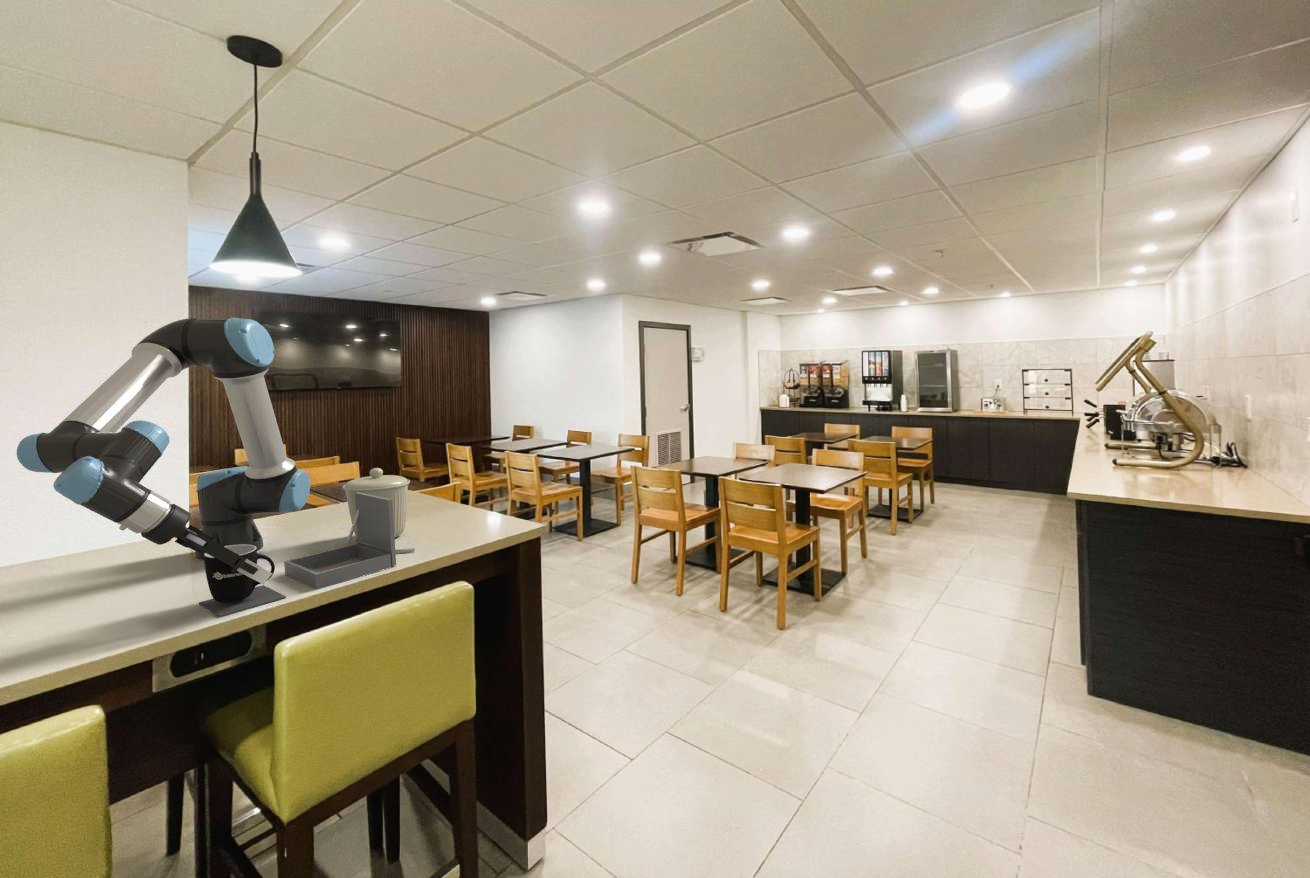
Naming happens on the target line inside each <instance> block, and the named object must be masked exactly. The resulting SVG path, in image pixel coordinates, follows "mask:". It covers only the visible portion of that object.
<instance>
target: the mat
mask: <svg viewBox="0 0 1310 878" xmlns="http://www.w3.org/2000/svg"><path fill="white" fill-rule="evenodd" d="M286 598H287V596H286V595H284V594H282V593H281V592H278V591H276V590H274V589H272V588H270V587H268V586H266V585H264V584H261V585H257V586H255V588H254V590H253V592H252V594H251V595H250V596H249V597H247V598H244V599H241V600H238V601H233V602H217V601H216V600H214V598H213V597H212V598H210V599H207V600H203V601H200V602H198V605H199V606H201V607H203V608H204V609H206V610H207V611H209V612H210V613H211V614H214V615H215V616H216V617H218V618H223V617H227V616H229V615H230V616H231V615H232V614H237V613H239V612H243V611H247V610H250V609H254V608H257V607H261V606H264V605H267V604H270V603H275V602H278V601H280V600H284V599H286Z"/></svg>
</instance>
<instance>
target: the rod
mask: <svg viewBox="0 0 1310 878" xmlns="http://www.w3.org/2000/svg"><path fill="white" fill-rule="evenodd" d="M415 549H416V548H415V547H411V548H401V549H400V548H399V549H398V548H397V549H395V553H400V554H404V553H403V552H413V553H415V552H416V550H415ZM414 551H415V552H414Z"/></svg>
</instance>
